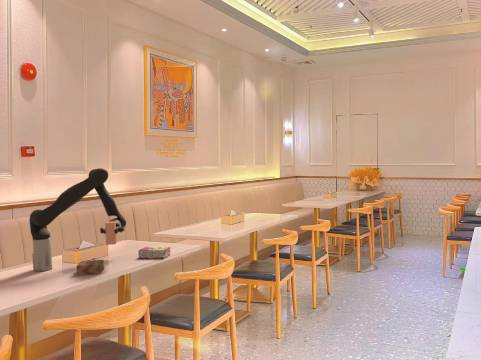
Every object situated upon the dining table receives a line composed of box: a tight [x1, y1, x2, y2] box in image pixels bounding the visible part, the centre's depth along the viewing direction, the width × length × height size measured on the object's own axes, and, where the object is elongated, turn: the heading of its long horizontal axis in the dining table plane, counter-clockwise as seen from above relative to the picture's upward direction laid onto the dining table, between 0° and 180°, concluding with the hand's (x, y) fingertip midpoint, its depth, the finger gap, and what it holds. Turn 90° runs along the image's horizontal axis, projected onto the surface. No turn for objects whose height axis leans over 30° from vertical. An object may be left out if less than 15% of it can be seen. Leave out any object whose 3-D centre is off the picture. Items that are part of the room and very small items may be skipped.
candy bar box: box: [138, 246, 171, 259], centre depth 301 cm, size 11×5×16 cm
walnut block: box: [76, 259, 105, 276], centre depth 267 cm, size 12×12×5 cm
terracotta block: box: [104, 221, 117, 246], centre depth 277 cm, size 5×5×12 cm
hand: (110, 231), depth 275 cm, fingers closed on terracotta block, 5 cm apart
